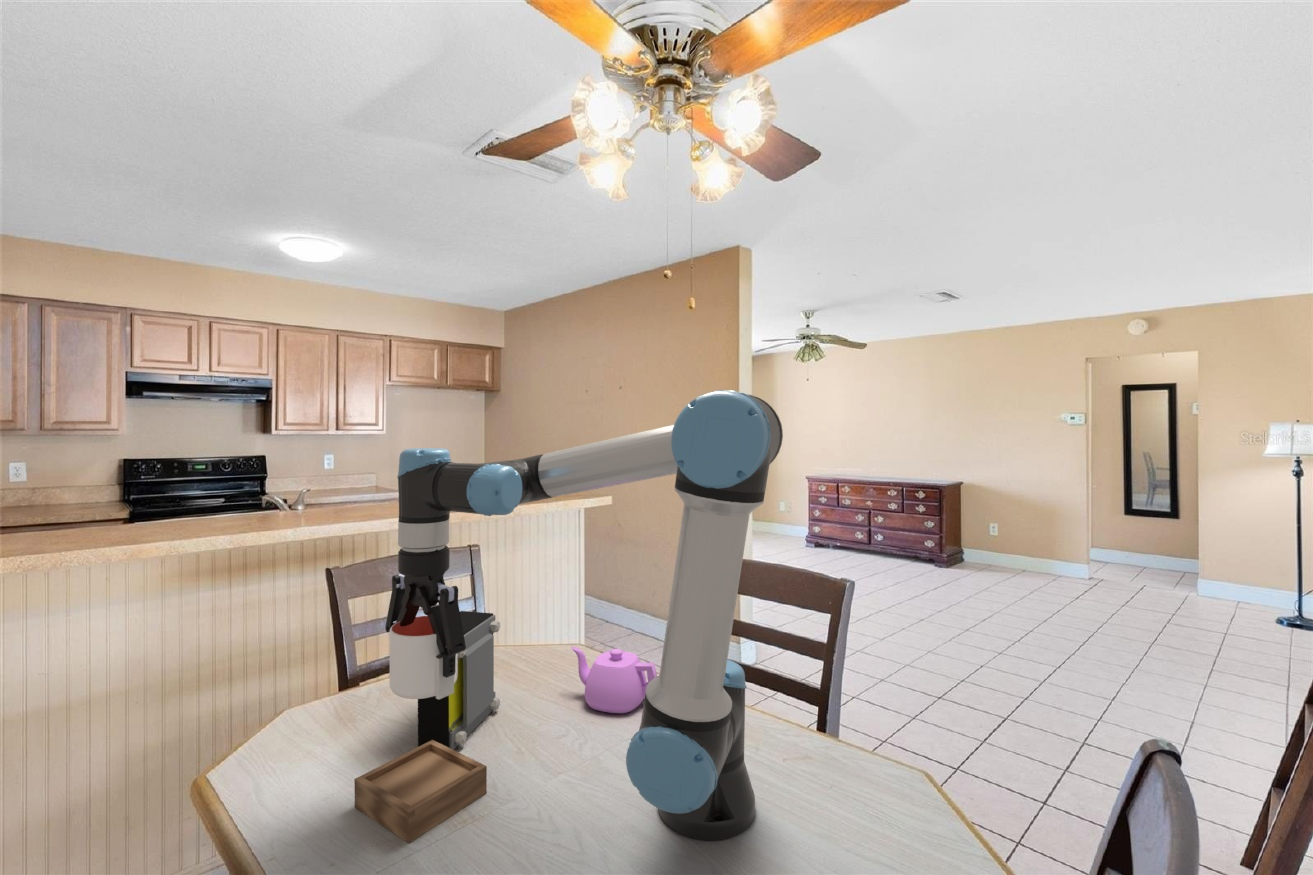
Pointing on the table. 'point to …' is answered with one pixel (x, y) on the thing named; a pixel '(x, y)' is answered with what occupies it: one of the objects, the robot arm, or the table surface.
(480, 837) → the table surface
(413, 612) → the robot arm
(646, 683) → the teapot
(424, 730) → the electrical component
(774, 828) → the table surface
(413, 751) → the wooden tray
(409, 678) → the cup
